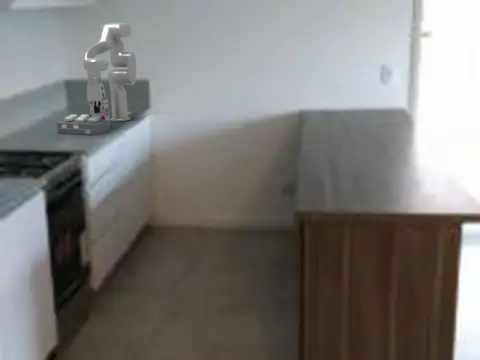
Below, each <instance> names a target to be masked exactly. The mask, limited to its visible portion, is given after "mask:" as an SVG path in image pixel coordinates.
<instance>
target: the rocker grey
mask: <svg viewBox="0 0 480 360" xmlns="http://www.w3.org/2000/svg"><path fill="white" fill-rule="evenodd" d="M78 117H79V116H78V114H70V115H68V116H65V117H64V120H63V121H72V120H74V119H77V118H78Z"/></svg>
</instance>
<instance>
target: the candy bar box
mask: <svg viewBox="0 0 480 360" xmlns="http://www.w3.org/2000/svg"><path fill="white" fill-rule="evenodd" d="M104 101H105V103H102V104H101V105H100V113H94V107H93V105H92V104H91V103H88V104H89V105H88V106H89V118H91V117H92V116H93V115H100V116H101V118H100V119H99V120H109V127H110V126H111V123H110V122H111V120H110V112H109V111H110V108H109V107H110V106H109V99H108V98H106V99H105V100H104Z"/></svg>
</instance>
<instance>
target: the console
mask: <svg viewBox="0 0 480 360" xmlns="http://www.w3.org/2000/svg"><path fill="white" fill-rule="evenodd" d="M76 119H77V118H76ZM76 119H74V120H72V121H65V120H62V121H59V122H57V123H56V124H57V125H56V126H57V133H58V134H66V135H67V134H68V135H85V136H87V135H88V136H98V135H101V134H103V132H104V133H106V132H105V131H107V132H109V131H110V126H109V120H110V119H109V120H97V121H96V122H95V123H88V119H86V120H85V121H84V122H76ZM108 130H109V131H108ZM100 133H101V134H100ZM97 134H98V135H97Z"/></svg>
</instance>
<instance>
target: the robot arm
mask: <svg viewBox="0 0 480 360" xmlns="http://www.w3.org/2000/svg"><path fill="white" fill-rule="evenodd" d="M131 33H132V25H131V24H130V23H128V22H107V23H105V24H102V25H101V27H100V29H99V32H98V37H97V40H96V43H95V44H93V45H92V46H91V47H89V49H87V51H86V53H85V55H84V59H83V66H82V67H83V68H84V70H85V71H86V74H87V84H86V99H87V103H88V104H89V103H91V104H92V105H93V107H94V113H100V105H101V104H102V103H105V101H104V100H105V99H107V98H106V90H105V87H104V83H102V82H103V81H104V80H103V78H102V73H101V72H105V71H107V69H109V65H111V67H113V68H117V69H112V70H109V72H108V73H107V80H108V85H109V89H110V100H111V112H112V117H109V120H110V122H125V121H130V120H131V117H130V116H129V115H131V111H128V101H127V100H128V99H127V91H126V89H125V88H124V86H133V85H135V84H136V82H137V57H136V55H135V53H134V52H133V51H125V46H124V45H125V44H124V42H123V40H122V38H123V39H124V38H128V37H129V36H130V35H131ZM108 51H109V58H110V59H109V61H110V62H109V61H108V59H106V58H105V57H97V56H100V55H101V54H104V53H105V52H108ZM118 68H125V69H118ZM126 68H127V69H126Z"/></svg>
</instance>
